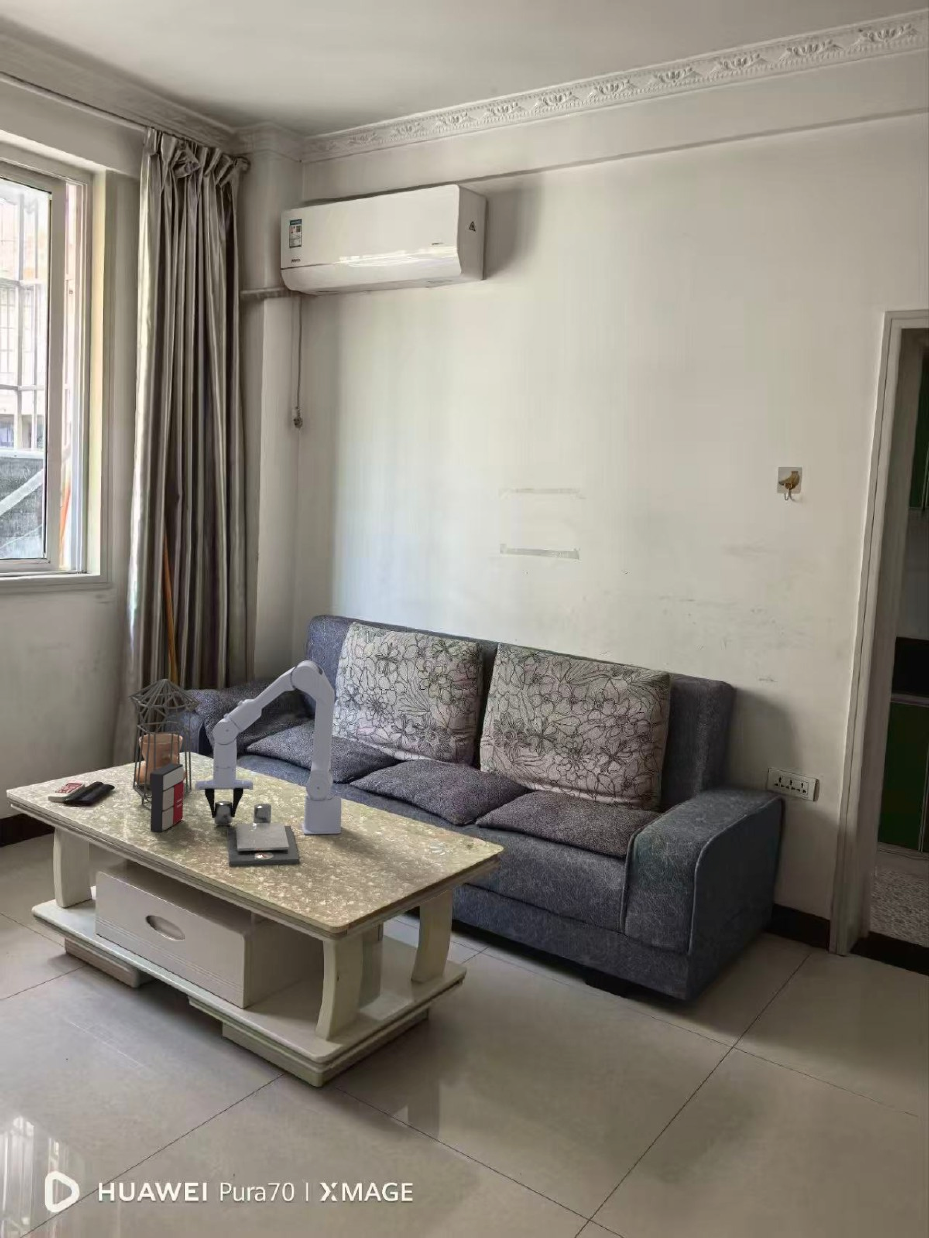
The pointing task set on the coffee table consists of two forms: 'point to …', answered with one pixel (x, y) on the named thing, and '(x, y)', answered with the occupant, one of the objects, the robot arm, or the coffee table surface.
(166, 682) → the geometric lantern
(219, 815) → the cylinder
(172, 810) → the grey and red box
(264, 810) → the cylinder
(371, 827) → the coffee table surface
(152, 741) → the ceramic jug
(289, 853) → the base
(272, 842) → the pan
